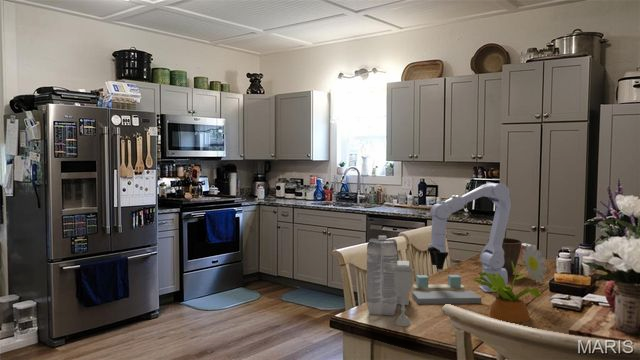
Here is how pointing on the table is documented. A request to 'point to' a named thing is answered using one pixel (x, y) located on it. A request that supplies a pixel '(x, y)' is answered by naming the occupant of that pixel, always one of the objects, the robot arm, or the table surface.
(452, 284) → the block
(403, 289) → the chalice
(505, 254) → the plant pot
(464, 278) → the table surface
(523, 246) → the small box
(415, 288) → the beige bar
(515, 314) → the decorative plant
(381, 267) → the juice carton
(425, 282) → the block
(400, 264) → the supplement box
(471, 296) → the loading dock
